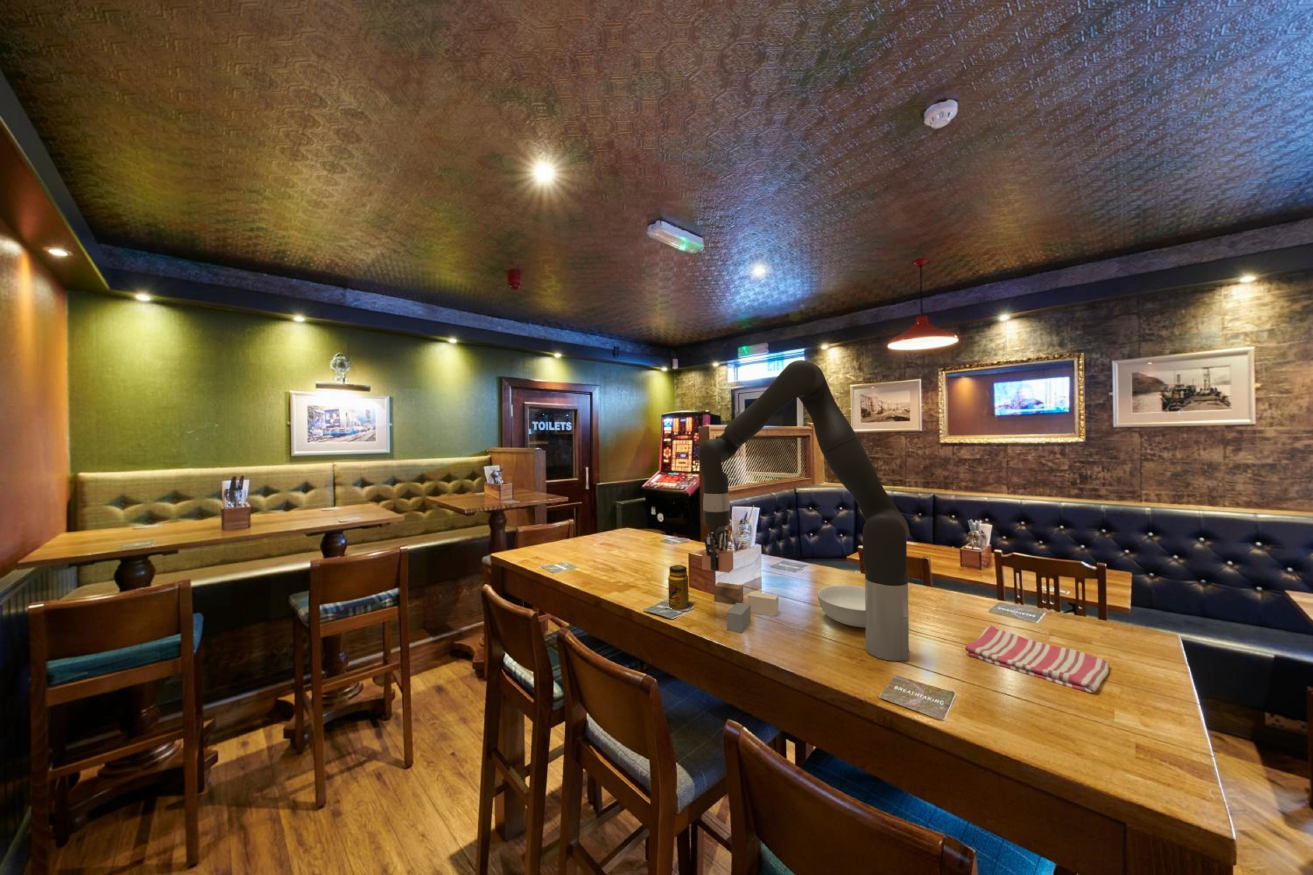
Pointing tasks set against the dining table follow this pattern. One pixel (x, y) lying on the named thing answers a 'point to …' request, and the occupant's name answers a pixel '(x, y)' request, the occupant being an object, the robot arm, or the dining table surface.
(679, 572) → the condiment
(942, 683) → the dining table surface
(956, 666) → the dining table surface
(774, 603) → the cream brick
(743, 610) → the slate brick
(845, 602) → the serving bowl
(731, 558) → the terracotta brick
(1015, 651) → the dish towel
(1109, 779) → the dining table surface
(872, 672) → the dining table surface
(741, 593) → the walnut brick
